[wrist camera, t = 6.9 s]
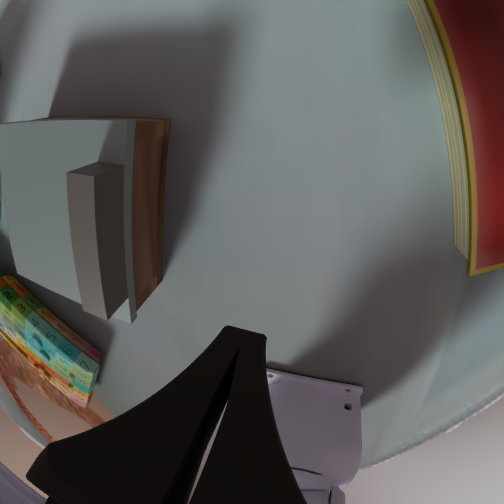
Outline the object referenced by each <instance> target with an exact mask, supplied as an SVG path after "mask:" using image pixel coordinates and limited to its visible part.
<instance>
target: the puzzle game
mask: <svg viewBox="0 0 504 504" xmlns="http://www.w3.org/2000/svg"><path fill="white" fill-rule="evenodd" d="M0 334H1V335H2V336H3V337H4V339H5V340H6V341H7V342H8V343H9V344H10V345H11V346H12V347H13V348H14V349H15V350H16V351H17V352H18V353H19V354H20V355H21V356H22V357H23V358H24V359H25V360H26V361H27V362H28V363H29V364H30V365H31V366H32V367H34V369H36V370H37V371H38V372H39V375H40V376H41V377H42V378H43V379H45V378H46V379H47V380H48V381H49V382H50V383H52V384H53V385H54V386H55V387H56V388H58V389H59V390H60V391H61V392H62V393H64V394H65V395H66V396H67V397H69V398H70V399H71V400H73V401H74V402H75V403H76V404H78V405H79V406H81V407H84V408H87V407H88V405H89V404H90V402H91V398H92V394H93V390H94V386H95V382H96V378H97V375H98V371H99V367H100V361H99V356H100V351H99V350H97V349H96V348H95V347H93V346H92V345H91V344H89V343H88V342H87V341H85V340H84V339H83V338H82V337H80V336H79V335H78V334H77V333H75V332H74V331H73V330H72V329H70V328H69V327H68V326H67V325H66V324H64V323H63V322H62V321H61V320H60V319H58V318H57V317H56V316H55V315H54V314H53V313H51V312H50V311H49V310H48V309H47V308H46V307H45V306H44V305H43V304H41V303H40V302H39V301H38V300H37V299H36V298H35V297H34V296H33V295H32V294H31V293H30V292H29V291H28V290H27V289H26V288H25V287H24V286H22V285H21V284H20V283H19V282H18V281H17V279H16V278H15V277H12V276H10V275H6V276H1V275H0Z"/></svg>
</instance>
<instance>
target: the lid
mask: <svg viewBox="0 0 504 504" xmlns="http://www.w3.org/2000/svg"><path fill="white" fill-rule="evenodd" d="M135 127H136V120H125V119H50V120H33V121H20V122H9V123H4V124H0V172H1V184H2V194H3V202H4V210H5V216H6V223H7V228H8V234H9V239H10V244H11V249H12V253H13V258H14V262H15V266H16V270H17V274H19V275H21V276H23V277H25V278H27V279H29V280H31V281H33V282H35V283H37V284H39V285H41V286H43V287H45V288H47V289H49V290H52V291H54V292H56V293H58V294H60V295H62V296H65V297H67V298H69V299H71V300H73V301H76V302H78V303H80V304H82V306H83V311H85V312H88V313H90V314H92V315H95V316H97V317H99V318H102V319H104V320H107V321H108V320H109V319H110V317H111V316H112V317H114V318H117V319H119V320H122V321H125V322H127V323H130V324H132V322H133V321H134V320H135V319H136V317H137V312H136V301H135V289H134V274H133V253H132V175H133V154H134V139H135Z"/></svg>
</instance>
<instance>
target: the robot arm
mask: <svg viewBox="0 0 504 504" xmlns="http://www.w3.org/2000/svg"><path fill="white" fill-rule="evenodd" d="M266 340H267V338H266V336H265V335H264V334H260V333H256V332H252V331H248V330H244V329H240V328H236V327H232V326H229V325H227V326H225V327H224V328H223V329H222V331H221V332H220V333H219V335H218V336H217V337H216V338H215V339H214V341H213V342H212V343H211V344H210V345H209V346H208V347H207V348H206V349H205V351H204V352H203V353H202V354H201V355H200V356H199V357H198V358H197V359H196V360H194V361H193V362H192V363H191V364H190V365H189V366H188V367H187V368H186V369H185V370H184V371H183V372H181V373H180V374H179V375H178V376H177V377H176V378H174V379H173V380H172V381H171V382H170V383H168V384H167V385H166V386H164V387H163V388H162V389H161V390H159V391H158V392H156V393H155V394H154V395H152V396H151V397H149V398H148V399H146V400H145V401H143V402H142V403H140V404H138V405H137V406H135V407H133V408H132V409H130V410H128V411H127V412H125V413H123V414H121V415H120V416H118V417H116V418H114V419H112V420H110V421H107V422H105V423H103V424H101V425H99V426H97V427H94V428H92V429H90V430H87V431H86V432H82V433H80V434H77V435H74V436H71V437H68V438H65V439H62V440H59V441H55V442H52V443H49V444H48V445H47V446H46V448H45V449H44V450H43V451H42V452H41V453H40V454H39V455H38V457H37V458H36V460H35V462H34V463H33V465H32V466H31V468H30V469H29V471H28V472H27V474H26V478H27V480H29V481H30V482H31V483H32V484H33V485H35V486H36V487H37V488H39V489H40V490H41V491H43V492H44V493H45V494H47V495H48V496H49V497H48V499H46V498H44V497H43V496H41V495H40V494H39V493H37V492H36V491H35V490H33V489H32V488H31V487H29V486H28V485H27V484H26V483H24V482H23V481H22V480H21V479H20V478H18V477H17V476H16V475H15V474H14V473H12V472H11V471H10V470H9V469H8V468H7V467H6V466H5V465H3V464H2V463H1V462H0V504H187V503H188V500H189V497H190V494H191V491H192V488H193V485H194V482H195V479H196V476H197V473H198V470H199V467H200V464H201V461H202V458H203V455H204V453H205V450H206V448H207V446H208V443H209V441H210V439H211V437H212V434H213V432H214V430H215V428H216V426H217V423H218V421H219V419H220V417H221V414H222V412H223V410H224V408H225V405H226V403H227V406H226V409H225V412H224V415H223V418H222V420H221V423H220V426H219V429H218V431H217V434H216V437H215V439H214V442H213V445H212V447H211V450H210V453H209V455H208V458H207V461H206V463H205V466H204V468H203V471H202V473H201V476H200V478H199V481H198V483H197V486H196V488H195V491H194V493H193V495H192V498H191V500H190V502H189V504H345V494H344V492H343V491H342V490H340V489H341V488H344V487H346V486H347V485H348V484H349V483H350V482H351V481H352V479H353V478H354V476H355V474H356V472H357V470H358V467H359V463H360V458H361V452H362V430H361V405H360V396H361V394H362V393H363V387H361V386H356V385H350V384H344V383H337V382H332V381H326V380H320V379H315V378H310V377H305V376H300V375H295V374H290V373H286V372H281V371H277V370H272V369H268V368H266ZM270 374H272V375H270ZM227 401H228V402H227ZM329 489H330V493H329Z"/></svg>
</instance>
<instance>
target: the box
mask: <svg viewBox="0 0 504 504" xmlns="http://www.w3.org/2000/svg"><path fill="white" fill-rule="evenodd" d="M50 119H125V120H136V127H135V139H134V154H133V175H132V253H133V274H134V289H135V301H136V311H137V310H138V309H139V308H140V307H141V305H142V304H143V303H144V302H145V301H146V299H147V298H148V297H149V296H150V295H151V293H152V292H153V291H154V290H155V289H156V287H157V286H158V285H159V284H160V283H161V281H162V225H163V202H164V186H165V172H166V159H167V148H168V138H169V129H170V120H169V119H156V118H140V117H114V116H72V117H48V118H42V119H36V120H50ZM31 121H33V120H31Z"/></svg>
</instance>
